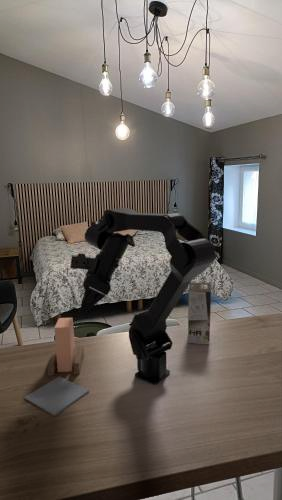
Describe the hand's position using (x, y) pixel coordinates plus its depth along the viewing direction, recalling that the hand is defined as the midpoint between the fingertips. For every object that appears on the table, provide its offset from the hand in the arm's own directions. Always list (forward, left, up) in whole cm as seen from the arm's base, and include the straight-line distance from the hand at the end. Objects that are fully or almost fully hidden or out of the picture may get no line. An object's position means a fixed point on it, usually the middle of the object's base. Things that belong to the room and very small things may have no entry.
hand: (81, 309), depth 88 cm
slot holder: (+3, +3, -15) cm, 16 cm away
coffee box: (-18, -31, -15) cm, 39 cm away
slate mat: (-5, +13, -15) cm, 21 cm away
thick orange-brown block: (+3, +3, -15) cm, 16 cm away
